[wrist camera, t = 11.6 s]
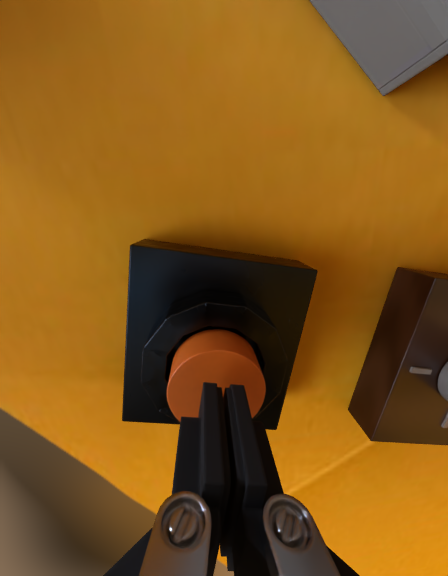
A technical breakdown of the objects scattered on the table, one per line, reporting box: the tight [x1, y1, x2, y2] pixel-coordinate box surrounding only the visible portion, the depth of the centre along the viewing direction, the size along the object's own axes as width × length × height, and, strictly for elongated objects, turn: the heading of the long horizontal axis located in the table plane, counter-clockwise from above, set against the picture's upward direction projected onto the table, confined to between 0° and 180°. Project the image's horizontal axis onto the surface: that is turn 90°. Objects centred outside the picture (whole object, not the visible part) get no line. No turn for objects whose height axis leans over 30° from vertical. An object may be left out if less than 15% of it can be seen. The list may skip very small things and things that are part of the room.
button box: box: [122, 239, 317, 430], centre depth 15 cm, size 11×10×5 cm
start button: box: [167, 329, 266, 421], centre depth 12 cm, size 4×4×2 cm
